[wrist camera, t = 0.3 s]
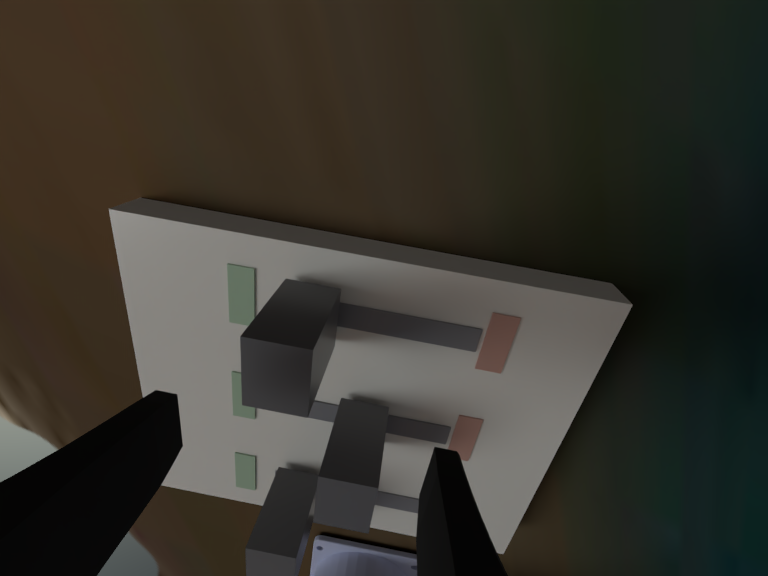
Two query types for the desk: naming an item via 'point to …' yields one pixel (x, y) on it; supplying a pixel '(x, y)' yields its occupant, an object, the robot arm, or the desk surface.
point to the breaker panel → (362, 355)
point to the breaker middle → (351, 466)
